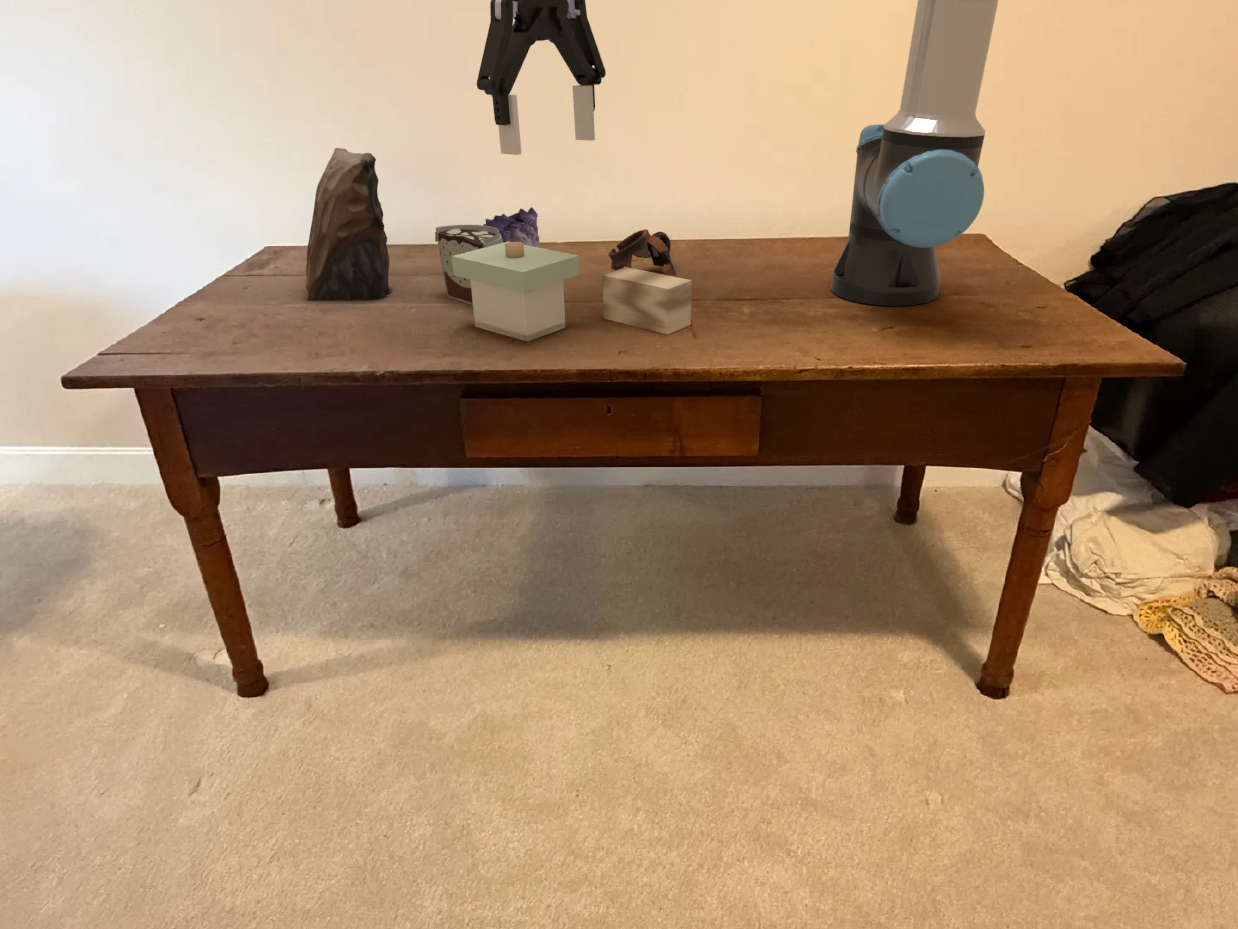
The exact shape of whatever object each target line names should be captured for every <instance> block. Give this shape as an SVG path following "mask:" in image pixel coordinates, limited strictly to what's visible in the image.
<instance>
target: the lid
mask: <svg viewBox="0 0 1238 929" xmlns="http://www.w3.org/2000/svg"><path fill="white" fill-rule="evenodd" d="M452 264H453V273H454V276H458V277H463V278H467V279H471V280H475V281H479V282H483V283H487V284H491V285H495V286H499V287H503V288H508V289H512V290H516V291H520V292H527V291H530V290H533V289H536V288H540V287H543V286H546V285H549V284H552V283H555V282H559V281H562V280H563V281H565V280H567V279H570V278H574V277H577V276H580V274H581V272H580V255H578V254H572V253H569V252H562V251H558V250H553V249H550V248H549V249H548V248H544V247H540V248H539V247H534V246H529V245H524V243H522V242H509V241H508V242H505V243H501V244H497V245H493V246H489V247H485V248H481V249H477V250H474V251H470V252H466V253H462V254H458V255H454V256H452Z"/></svg>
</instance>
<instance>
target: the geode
mask: <svg viewBox="0 0 1238 929" xmlns="http://www.w3.org/2000/svg"><path fill="white" fill-rule="evenodd" d="M538 215H539V214H538V213H537V211H536V210H535V209H534V207H533V206H531V207H530V208H529V209H528V211H526V210H525V209H523V208H519V210H518V212H515V213H513V214H511V215H509V216H508V215H506V214H505V213H502V214H501V215H496V214H495V215H494V217H493V218H492V219H491V218H486V219H485V223H484V224H483V226H490V227H494V228H496V229H498V230H499V234H501V236H502V239H503V243H505V242H508V241H509V242H522V243H524V245H529V246H534V247H539V248H541V245H540V244H541V243H540V236H539V232H538V231H539V227H538V217H539V216H538Z"/></svg>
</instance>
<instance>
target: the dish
mask: <svg viewBox="0 0 1238 929" xmlns="http://www.w3.org/2000/svg"><path fill="white" fill-rule="evenodd" d="M470 280H471V279H470ZM471 290H472V301H473V305H472V308H473V309H472V311H473V318H474V320H473V321H474V327H476V328H479V329H483V330H485V331H488V332H492V333H496V334H500V335H503V336H506V337H509V338H513V339H517V340H521V341H525V342H527V343H528V342H531V341H533V340H536V339H539V338H541V337H544V336H546V335H549V334H550V335H551V334H552V333H555V332H557V331H560V330H563V329H565V328H566V315H565V314H566V312H565V295H564V294H565V292H564V291H565V288H564V280H562V281H559V282H555V283H552V284H549V285H546V286H543V287H540V288H536V289H533V290H530V291H527V292H520V291H516V290H512V289H508V288H503V287H499V286H495V285H491V284H487V283H483V282H479V281H475V280H471Z"/></svg>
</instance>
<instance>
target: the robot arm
mask: <svg viewBox="0 0 1238 929" xmlns="http://www.w3.org/2000/svg"><path fill="white" fill-rule="evenodd" d="M586 4H587V3H586V0H490V5H489V6H490V8H489V9H490V14H489V15H490V20H489V21H490V22H489V27H488V31H487V36H486V39H485V45H484V49H483V53H482V58H481V62H480V67H479V70H478V76H477V80H476V87H477V89H478V91H479V90H480V91H484V93H485V95H488V96H489V95H490V96H491V97H492V106H493V114H494V115H493V116H494V123H495V125H496V126H498V135H499V144H500V154H502V155H513V156H519V155H522V142H521V132H520V122H519V109H518V99H517V94H511V92H512V89H513V87H514V85H515V83H516V81H517V78H518V76H519V73H520V71H521V68H522V66H523V65H524V62H525V60H526V58H527V55H528V53H529V51H530V49H531V47H532V46H533V45H534V44H536V42H540V41H541V42H542V41H549V42H550V43H552V44H553V45H554V46H555V47H556V49H557V51H558V53H559V54H560V56H561V58H562V59H563V61H564V62H565V64H566V67H567V68H568V69H569V71H570V72H571V74H572V76H573V77H574V80H575V81H576V82H577V84H578V85H577V84H576V85H572V99H573V100H572V101H573V102H572V103H573V118H574V120H573V121H574V134H575V140H576V141H595V140H596V137H595V136H596V133H595V132H596V130H595V117H594V116H595V110H596V95H595V94H596V93H595V91H596V90H595V85H596V86H598V85H600V84H602V79H603V78H605V76H606V68H605V66H604V62H603V60H602V56H601V54H600V53H601V52H600V51H599V47H598V45H597V43H596V40H595V37H594V33H593V30H592V27H591V25H590V24H591V23H590V21H589V18H588V13H587V5H586ZM998 4H999V0H917V5H916V11H915V17H914V22H913V30H912V35H911V41H910V47H909V53H908V57H907V63H906V71H905V75H904V76H905V77H904V82H903V89H902V95H901V102H900V106H899V110H898V112H897V113H896V114H895V115H893V117H891V118H890V119H889V120H887V122H886V123H885V124H870V125H867V126H865V127H864V128H863V129H862V130H861V131H860V133H859V140H858V144H857V146H856V148H855V150H856V162H855V163H856V164H855V172H854V173H855V174H854V182H853V192H852V193H853V194H852V200H851V201H852V202H851V203H852V204H851V209H850V210H851V211H850V219H849V220H850V221H849V229H848V230H849V231H848V237H847V240H846V242H845V243H844V247H843V249H842V251H841V254H840V256H839V257H838V259H837V262H836V264H835V267H834V269H833V272H832V277H831V284H830V290H831V291H832V292H833V293H834V294H835V295H836V296H838V297H841V298H843V299H846V300H849V301H852V302H856V303H862V304H867V305H877V306H890V307H891V306H892V307H893V306H895V307H896V306H898V307H900V306H901V307H902V306H914V305H920V304H924V303H929V302H932V301H933V300H935V299H937V297H938V296H939V292H940V291H939V290H940V284H941V277H940V272H939V266H938V261H937V254H936V249H935V247H939V246H942V245H945V244H948V243H950V242H952V241H954V240H955V239H957V238H958V237H960V236H961V235H962V234H964V233H965V232H966V231H967V230H968V229H969V228H970V227H971V225H972V224H973V223H974V222H975V220H976V219H977V217H978V215H979V213H980V211H981V208H982V206H983V203H984V197H985V184H984V178H983V175H982V172H981V170H980V168H979V165H980V164H979V163H980V159H981V153H982V149H983V145H984V141H985V140H984V139H985V136H986V130H985V128H984V127H983V126H982V124H981V123H980V121H979V120H978V118H977V115H976V111H977V107H978V102H979V97H980V92H981V86H982V83H983V77H984V72H985V67H986V62H987V58H988V53H989V48H990V42H991V38H992V34H993V28H994V23H995V18H996V14H997V9H998Z"/></svg>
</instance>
